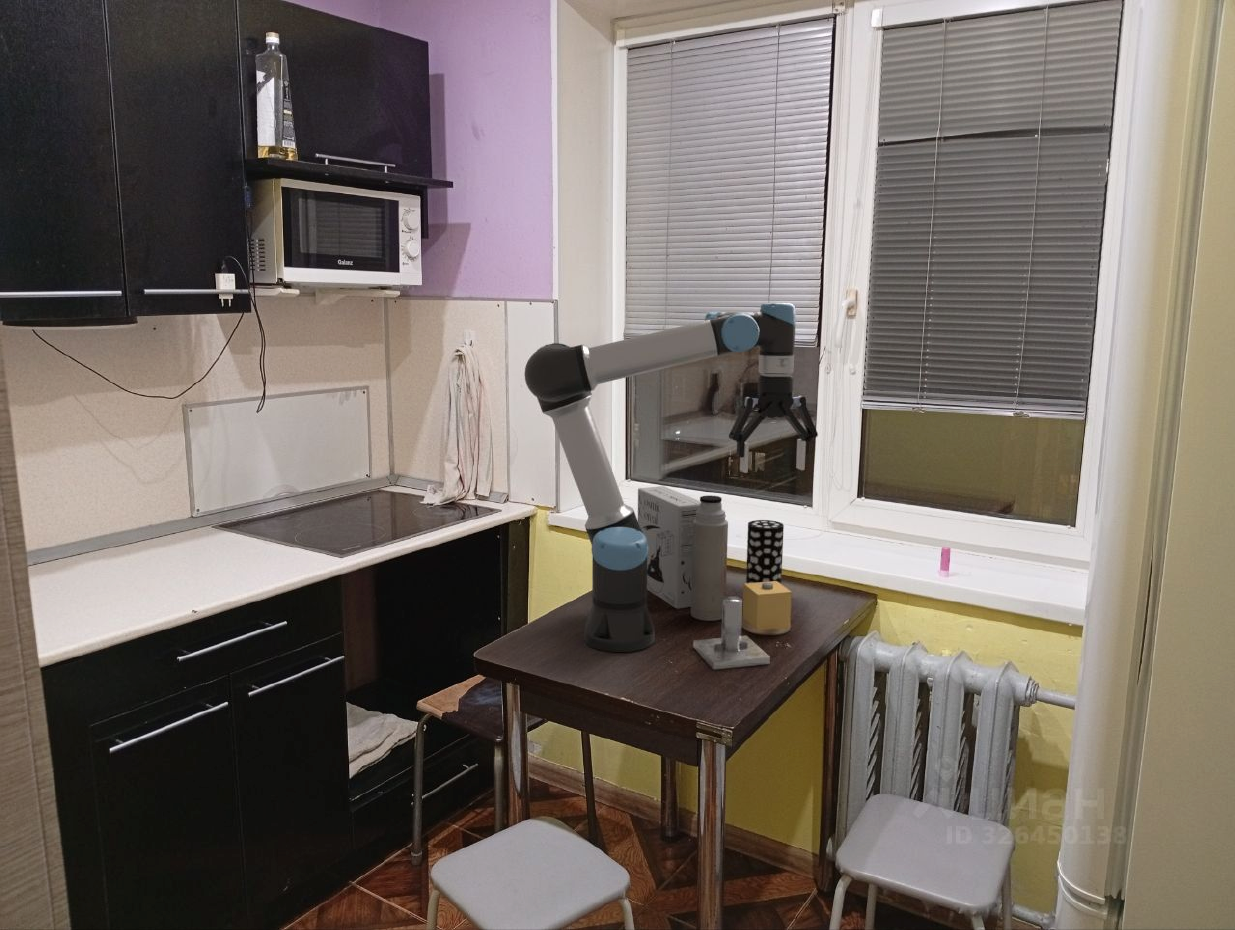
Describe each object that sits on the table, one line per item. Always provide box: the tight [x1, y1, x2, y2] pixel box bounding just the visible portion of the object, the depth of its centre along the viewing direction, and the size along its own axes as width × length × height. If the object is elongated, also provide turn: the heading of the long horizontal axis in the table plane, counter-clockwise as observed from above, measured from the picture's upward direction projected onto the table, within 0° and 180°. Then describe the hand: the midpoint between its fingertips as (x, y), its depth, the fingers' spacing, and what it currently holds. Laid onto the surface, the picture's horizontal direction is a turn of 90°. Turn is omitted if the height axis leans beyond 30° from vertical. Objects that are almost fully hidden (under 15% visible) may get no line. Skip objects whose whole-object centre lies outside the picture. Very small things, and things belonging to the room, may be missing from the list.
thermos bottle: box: [690, 495, 729, 622], centre depth 211 cm, size 8×8×28 cm
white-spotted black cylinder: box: [745, 519, 785, 585], centre depth 218 cm, size 8×8×20 cm
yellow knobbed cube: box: [742, 581, 793, 630], centre depth 205 cm, size 8×8×9 cm
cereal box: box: [637, 485, 701, 610], centre depth 226 cm, size 22×8×25 cm, turn 25°
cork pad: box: [741, 618, 792, 636], centre depth 206 cm, size 11×11×1 cm
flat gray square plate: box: [692, 596, 771, 670], centre depth 188 cm, size 12×12×12 cm
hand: (772, 470), depth 204 cm, fingers open, 13 cm apart
